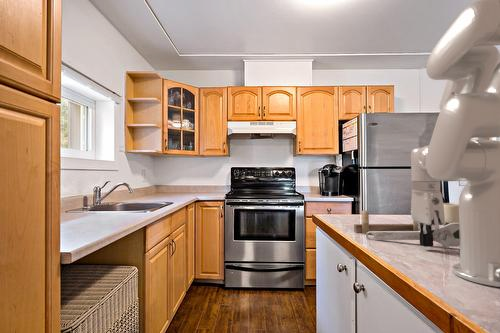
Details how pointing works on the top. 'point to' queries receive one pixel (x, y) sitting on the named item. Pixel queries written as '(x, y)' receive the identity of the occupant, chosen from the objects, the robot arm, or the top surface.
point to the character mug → (452, 216)
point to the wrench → (442, 237)
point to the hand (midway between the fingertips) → (426, 245)
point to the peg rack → (381, 226)
